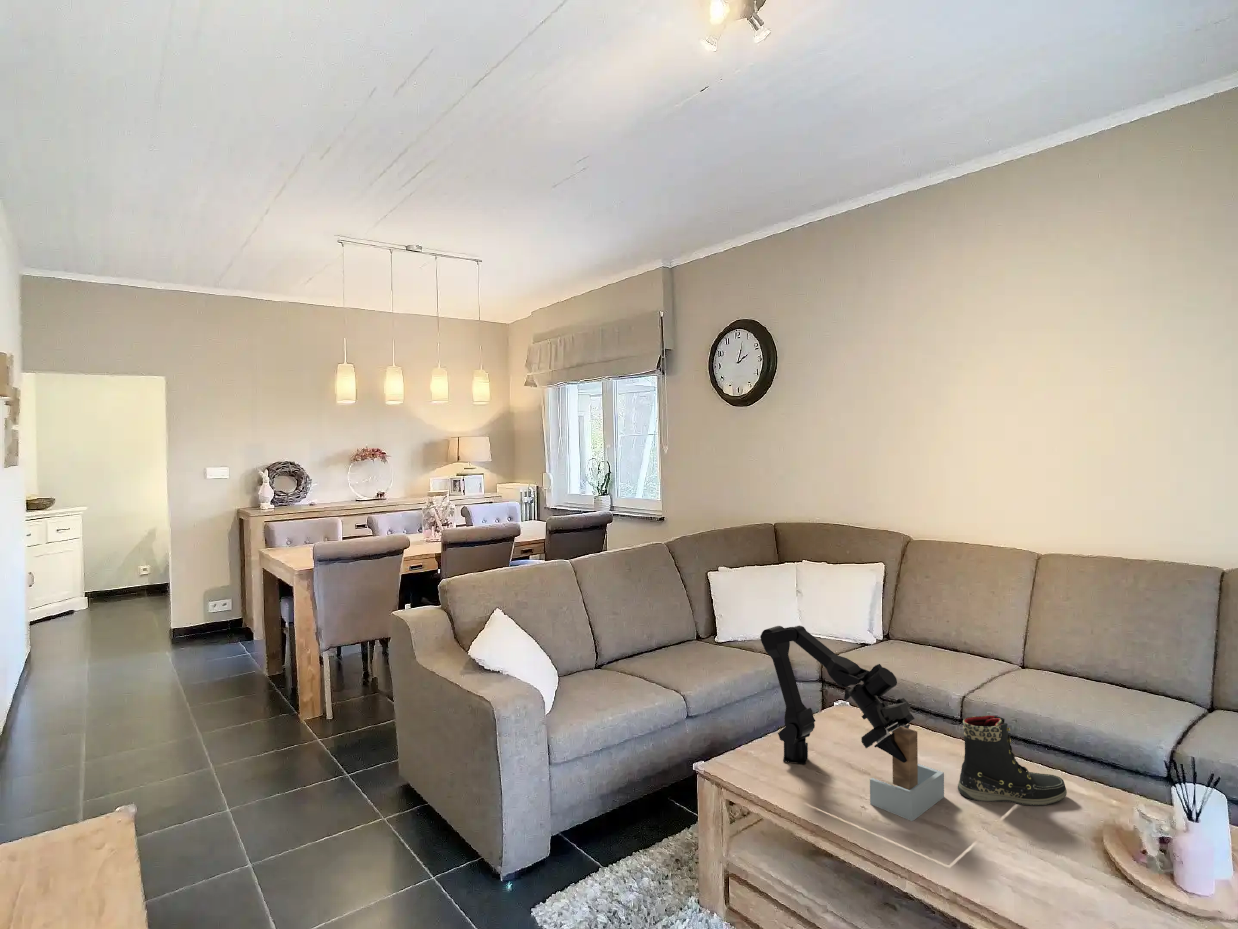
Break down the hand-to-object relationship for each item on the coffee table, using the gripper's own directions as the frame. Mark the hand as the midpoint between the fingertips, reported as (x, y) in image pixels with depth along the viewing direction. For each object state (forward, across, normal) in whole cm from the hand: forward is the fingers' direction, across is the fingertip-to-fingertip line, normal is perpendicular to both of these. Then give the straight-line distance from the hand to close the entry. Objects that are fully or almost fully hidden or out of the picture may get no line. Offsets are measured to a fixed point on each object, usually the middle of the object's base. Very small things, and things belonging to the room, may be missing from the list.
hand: (910, 759), depth 179 cm
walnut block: (+4, 0, +6) cm, 7 cm away
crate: (+7, 0, +9) cm, 12 cm away
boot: (+20, +23, -3) cm, 30 cm away
